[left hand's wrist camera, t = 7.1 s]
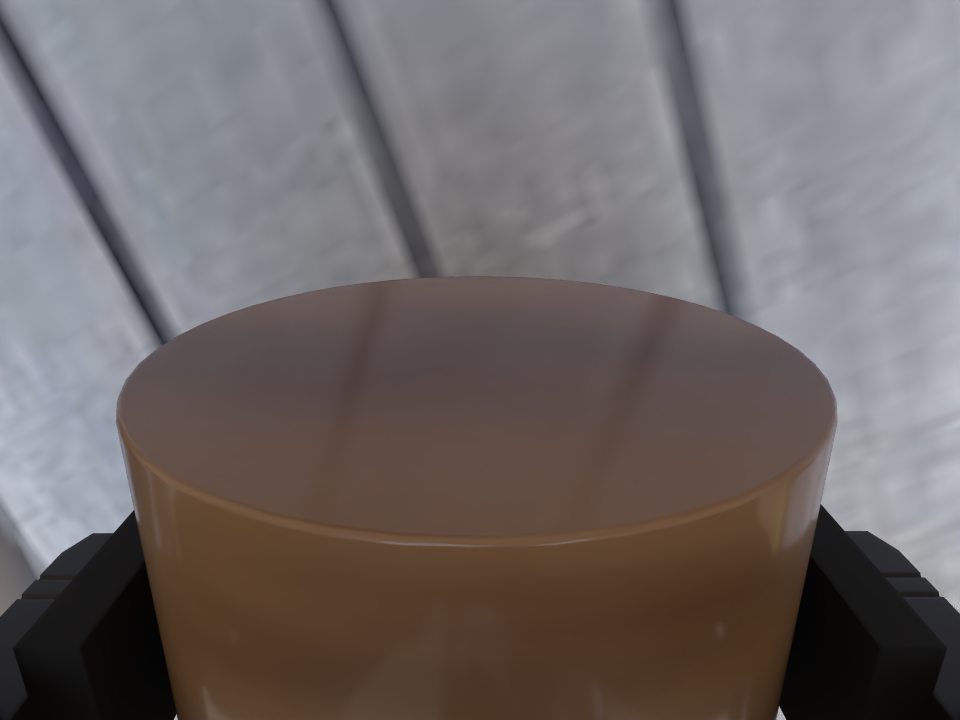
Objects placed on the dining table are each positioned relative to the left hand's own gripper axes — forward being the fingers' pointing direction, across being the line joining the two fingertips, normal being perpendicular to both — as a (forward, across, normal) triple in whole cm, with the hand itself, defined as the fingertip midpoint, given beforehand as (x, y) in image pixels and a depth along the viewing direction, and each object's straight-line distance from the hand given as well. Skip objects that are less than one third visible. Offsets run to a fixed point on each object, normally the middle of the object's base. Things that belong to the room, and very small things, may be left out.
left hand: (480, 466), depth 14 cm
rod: (+1, 0, -8) cm, 8 cm away
